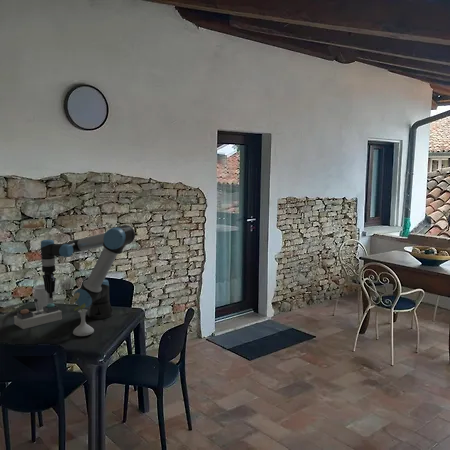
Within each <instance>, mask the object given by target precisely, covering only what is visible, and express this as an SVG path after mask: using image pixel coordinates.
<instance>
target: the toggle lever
mask: <svg viewBox="0 0 450 450" xmlns="http://www.w3.org/2000/svg"><path fill="white" fill-rule="evenodd" d="M37 301H38V300H37V299H35V298H34V299H33V302H34V305H35V309H36V310H35V311H37V312H39V307H38V302H37Z"/></svg>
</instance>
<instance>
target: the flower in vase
mask: <svg viewBox="0 0 450 450" xmlns="http://www.w3.org/2000/svg"><path fill="white" fill-rule="evenodd" d="M74 293H75V292H74ZM74 293H73V296H71V297H70V300H69V302H68V303H69V305H74V303H76V301H77V299H78V298H79V296H80V293H78V292H77V293H75V294H74ZM77 302H78V301H77ZM78 304H79V303H78ZM85 308H86V307H85V303H84V304H83V305H81V306H80V305H79V306H76V307H74V309H73V312H75V311H77V312H78V313H79V316H80V324H79V325H78V326H76V327H75V328H74V329H73V331H72V334H73V335H74V336H77V337H86V336H87V337H88V336H89V335H92V334H94V332H95V328H93V327H92V326H90V325H89V324H87V322H86V313H88V309H85Z"/></svg>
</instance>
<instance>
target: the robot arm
mask: <svg viewBox="0 0 450 450" xmlns="http://www.w3.org/2000/svg"><path fill="white" fill-rule="evenodd" d="M135 238H136V232H135V229H134V228H133V227H132V226H130V225H127V224H126V225H125V224H123V225H119V226H116V227H115V226H114V227H111V228H109V229H108V230H107V231H105V232H104V233H100V234H95V235H92V236H86V237H84V238H79V239H74V240H71V241H67V242H63V243H55V241H54V240H53V239H43V240H41V241H40V254H41V256H40V257H41V261H40V262H41V271H42V273H43V274H42V279H43V285H44V286H45V291H47V298H48V303H54V294H53V293H55V289H56V279H57V278H56V277H54V272H55V271H56V260H55V259H56V258H55V257H61V258H70V257H71V256H72V255H73V254H75V253H80V252H83V251H84V252H85V251H88V250H93V249H96V248H101V247H103V249H102V251H101V252H100V255H99V257H98V259H97V261H96V263H95V264H94V267H93V268H92V270H91V272H90V274H89V276H88V277H87V279H85V280H83V282H82V283H81V286H80V288H78V289H77V290H75V291H74V293H73V295H74V294H75V293H77V292H78V293H80V296H79V298H78V299H77V301H78V302H77V301H76V302H75V303H76V305H77V307H79V305H80V306H81V305H83V304H84V303H85V308H88V307H89V308H88V310H87V317H88V318H89V319H93V320H102V319H108V318H110V317H112V316H113V315H114V313H113V312H114V311H113V308H112V305H111V303H110V302H111V301H110V284H109V280H108V279H106V276H107V275H108V273H109V272H110V270H111V267H112V265H113V263H114V262H115V260H116V258H117V256H118V255H121V254H122V252H123V250H124V248H125V247H126V246H127V245H129V244H131V243H133V241H134V240H135ZM78 303H79V304H78Z"/></svg>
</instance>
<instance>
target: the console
mask: <svg viewBox="0 0 450 450" xmlns="http://www.w3.org/2000/svg"><path fill="white" fill-rule="evenodd" d="M54 306H55V307H54V308H49V309H48V308H47V306H44V307H43V310H39V312H37V311H36V310H35V311H30V310H29V313H28V314H24V315H21V311H19V312H16V315H13V320H14V325H16V326H17V327H19V328H20V329H22V330H26V329H30V328H33V327H37V326H40V325H44V324H48V323H52V322H57V321H60V320H63V312H62V311H63V310H60V309H59V306H58V305H56V304H54Z"/></svg>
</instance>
